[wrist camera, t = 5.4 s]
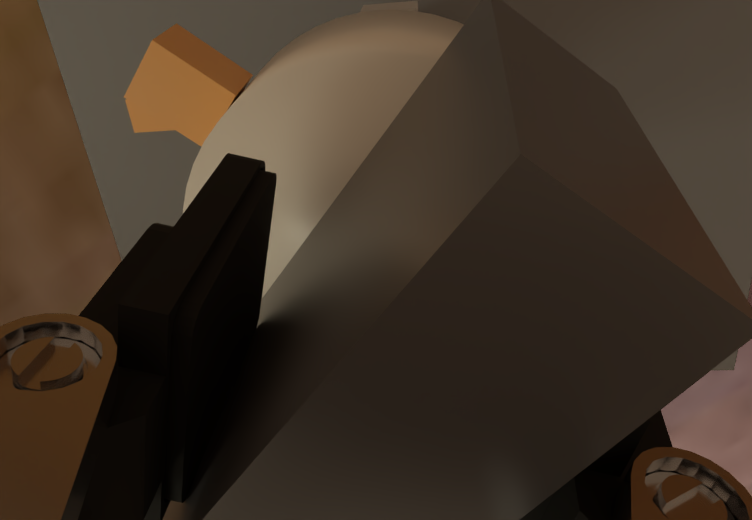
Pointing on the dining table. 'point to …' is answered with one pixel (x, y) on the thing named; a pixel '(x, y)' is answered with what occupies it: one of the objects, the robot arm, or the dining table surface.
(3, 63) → the dining table surface
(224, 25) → the post base
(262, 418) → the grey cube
